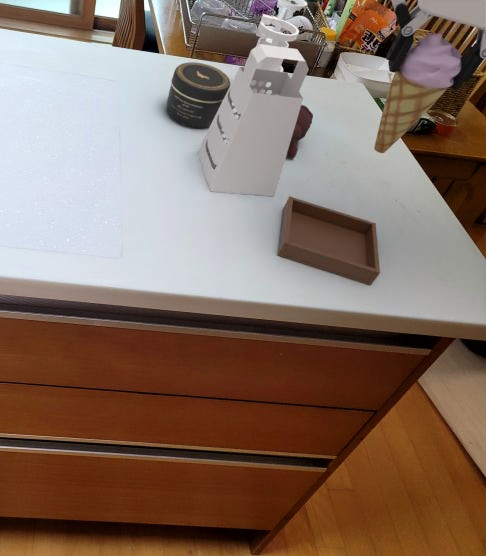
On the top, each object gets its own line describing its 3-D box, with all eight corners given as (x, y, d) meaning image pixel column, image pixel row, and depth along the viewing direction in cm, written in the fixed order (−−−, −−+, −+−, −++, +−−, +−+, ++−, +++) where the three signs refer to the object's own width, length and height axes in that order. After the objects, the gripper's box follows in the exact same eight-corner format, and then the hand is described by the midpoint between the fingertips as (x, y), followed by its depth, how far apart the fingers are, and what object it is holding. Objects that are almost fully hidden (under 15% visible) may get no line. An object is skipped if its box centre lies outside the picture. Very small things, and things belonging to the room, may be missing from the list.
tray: (367, 235, 83) (375, 223, 81) (370, 285, 75) (380, 273, 73) (282, 208, 84) (289, 196, 82) (277, 255, 76) (284, 242, 74)
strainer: (237, 84, 110) (264, 7, 99) (271, 94, 110) (302, 18, 99) (233, 100, 105) (261, 21, 95) (269, 110, 105) (301, 32, 94)
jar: (210, 137, 95) (224, 97, 89) (156, 118, 96) (166, 77, 90) (223, 112, 101) (237, 73, 96) (173, 94, 103) (184, 55, 97)
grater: (197, 151, 91) (236, 30, 76) (256, 157, 93) (305, 40, 78) (210, 191, 84) (256, 66, 69) (274, 196, 86) (331, 76, 71)
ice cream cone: (344, 136, 72) (405, 19, 61) (378, 132, 74) (443, 18, 63) (378, 166, 68) (449, 46, 57) (413, 160, 70) (489, 45, 59)
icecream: (270, 80, 99) (272, 129, 90) (313, 80, 98) (319, 129, 88) (266, 114, 104) (267, 163, 95) (306, 114, 103) (312, 164, 94)
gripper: (612, -89, 53) (490, 84, 66) (433, -135, 54) (348, 43, 67) (641, -72, 48) (503, 113, 60) (443, -123, 49) (349, 68, 62)
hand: (422, 75), depth 64 cm, fingers closed on ice cream cone, 6 cm apart
